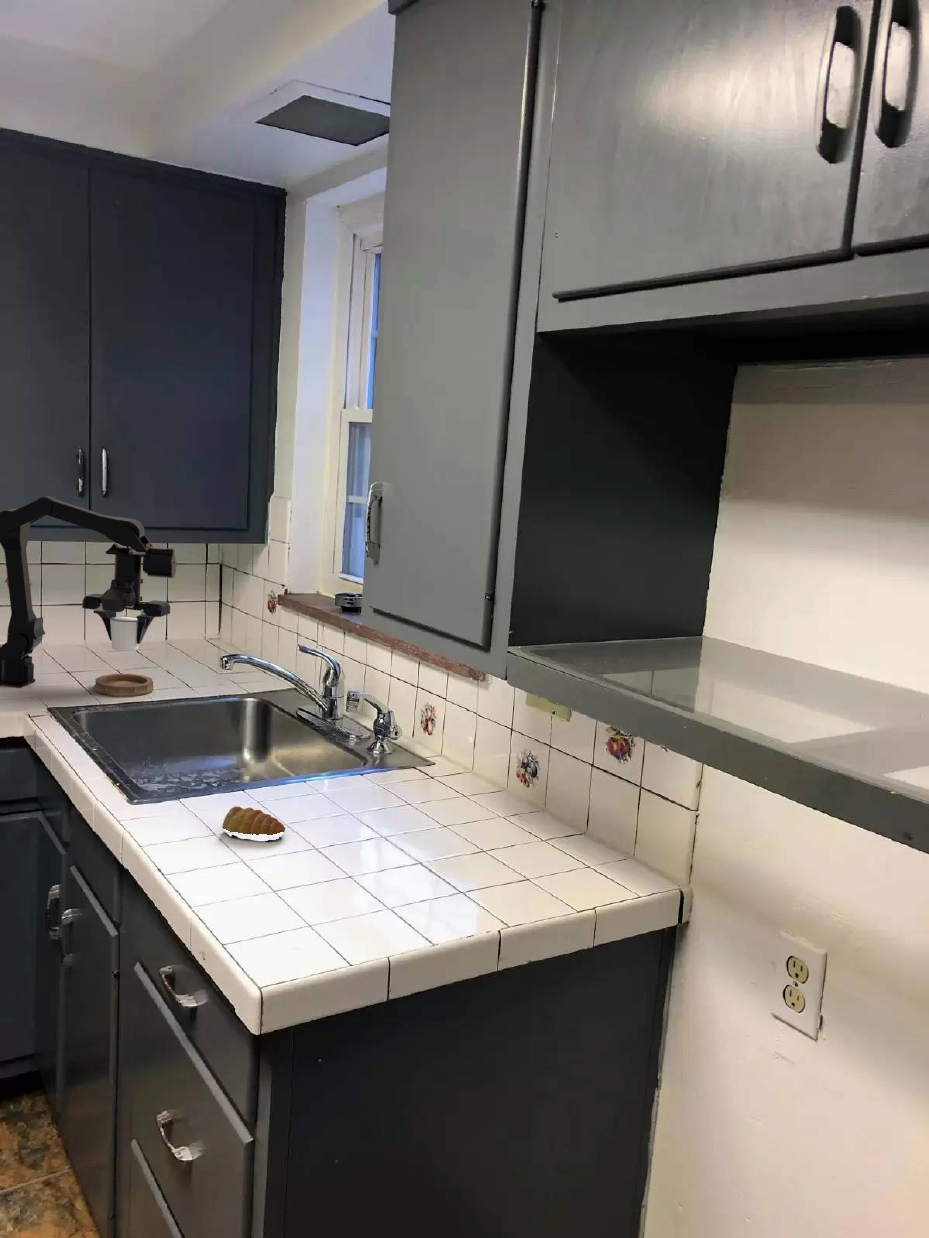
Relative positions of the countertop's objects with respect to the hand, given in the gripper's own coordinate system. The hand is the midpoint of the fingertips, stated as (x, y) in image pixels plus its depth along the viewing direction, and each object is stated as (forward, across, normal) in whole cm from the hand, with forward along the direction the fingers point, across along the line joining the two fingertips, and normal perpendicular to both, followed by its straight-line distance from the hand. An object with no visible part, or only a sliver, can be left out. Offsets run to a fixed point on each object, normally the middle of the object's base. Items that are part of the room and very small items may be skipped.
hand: (125, 642), depth 225 cm
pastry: (+12, +55, -70) cm, 90 cm away
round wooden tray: (+11, 0, 0) cm, 11 cm away
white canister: (+2, 0, 0) cm, 2 cm away
